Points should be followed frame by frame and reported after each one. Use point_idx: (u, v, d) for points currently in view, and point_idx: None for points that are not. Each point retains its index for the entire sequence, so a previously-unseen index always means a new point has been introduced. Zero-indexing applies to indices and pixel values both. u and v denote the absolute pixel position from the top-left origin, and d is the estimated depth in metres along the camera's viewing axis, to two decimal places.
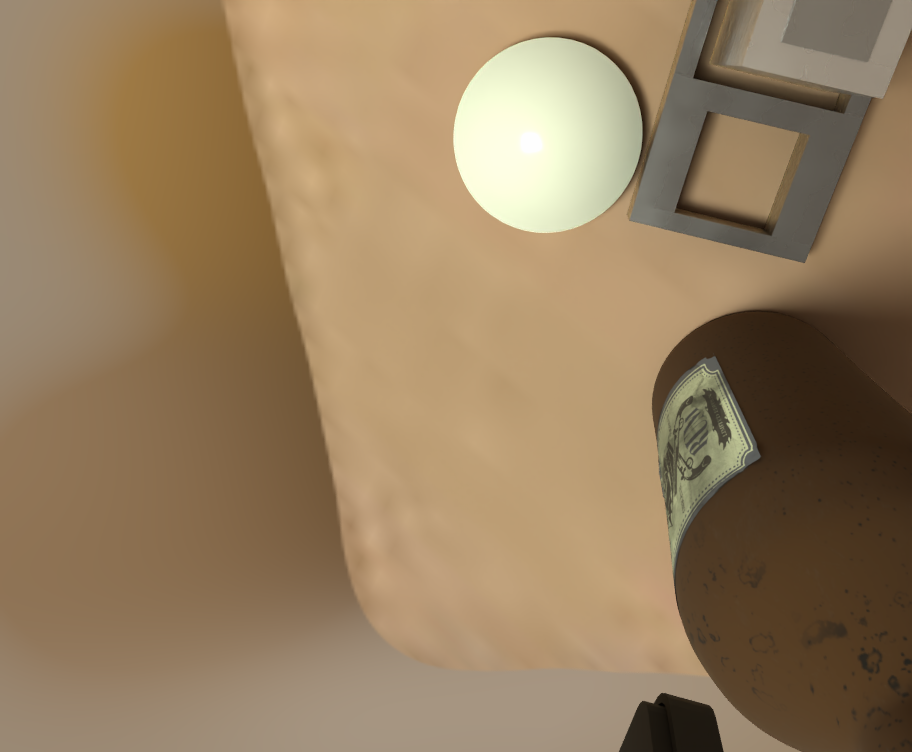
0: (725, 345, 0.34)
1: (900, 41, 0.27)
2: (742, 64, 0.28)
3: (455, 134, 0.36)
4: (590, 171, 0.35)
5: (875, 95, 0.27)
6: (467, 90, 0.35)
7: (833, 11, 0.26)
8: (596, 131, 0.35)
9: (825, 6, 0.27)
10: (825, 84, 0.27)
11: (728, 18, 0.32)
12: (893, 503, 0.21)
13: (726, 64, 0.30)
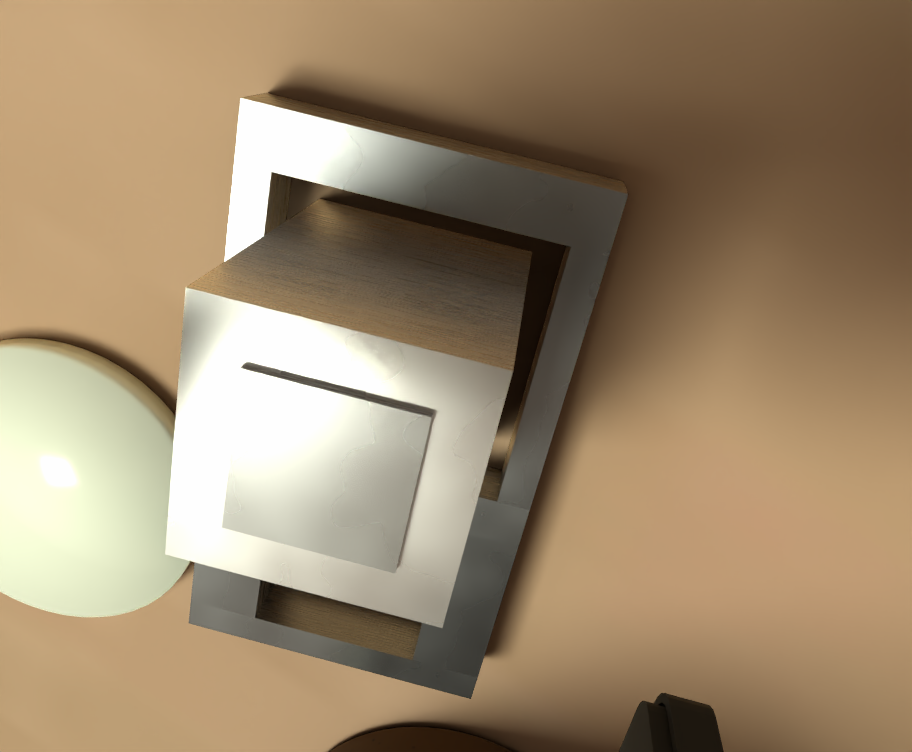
0: None
1: (453, 539, 0.13)
2: (166, 550, 0.14)
3: None
4: (126, 541, 0.22)
5: (425, 622, 0.14)
6: None
7: (306, 485, 0.13)
8: (121, 487, 0.21)
9: (293, 470, 0.13)
10: (328, 596, 0.14)
11: None
12: None
13: None
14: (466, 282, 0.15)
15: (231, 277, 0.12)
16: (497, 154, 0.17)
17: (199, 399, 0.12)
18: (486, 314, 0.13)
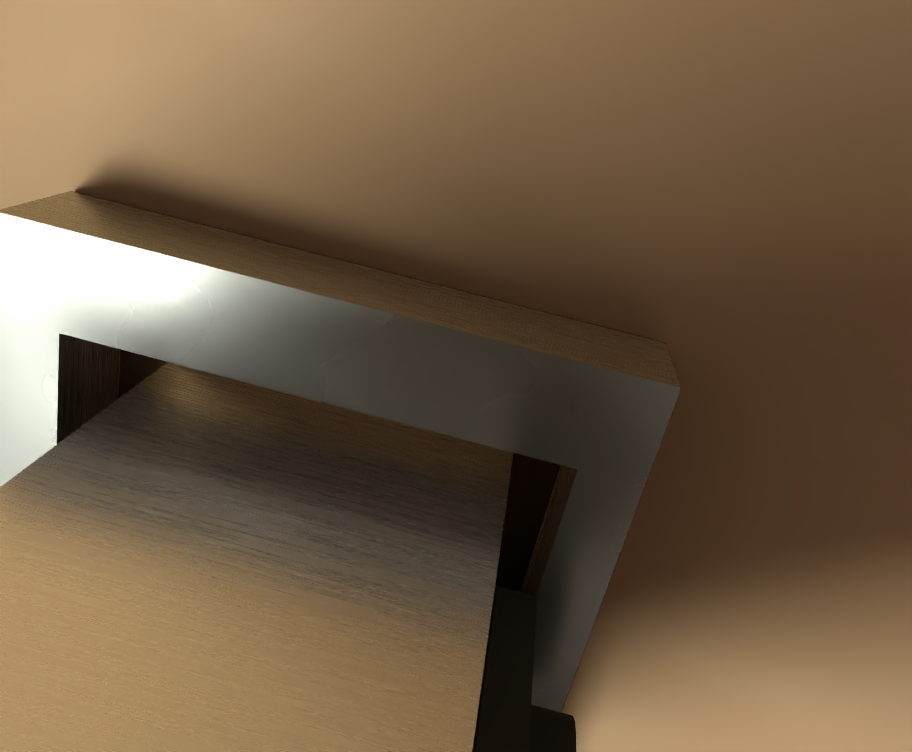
0: None
1: None
2: None
3: None
4: None
5: None
6: None
7: None
8: None
9: None
10: None
11: None
12: None
13: None
14: (381, 575, 0.08)
15: None
16: (451, 302, 0.10)
17: None
18: (404, 702, 0.06)
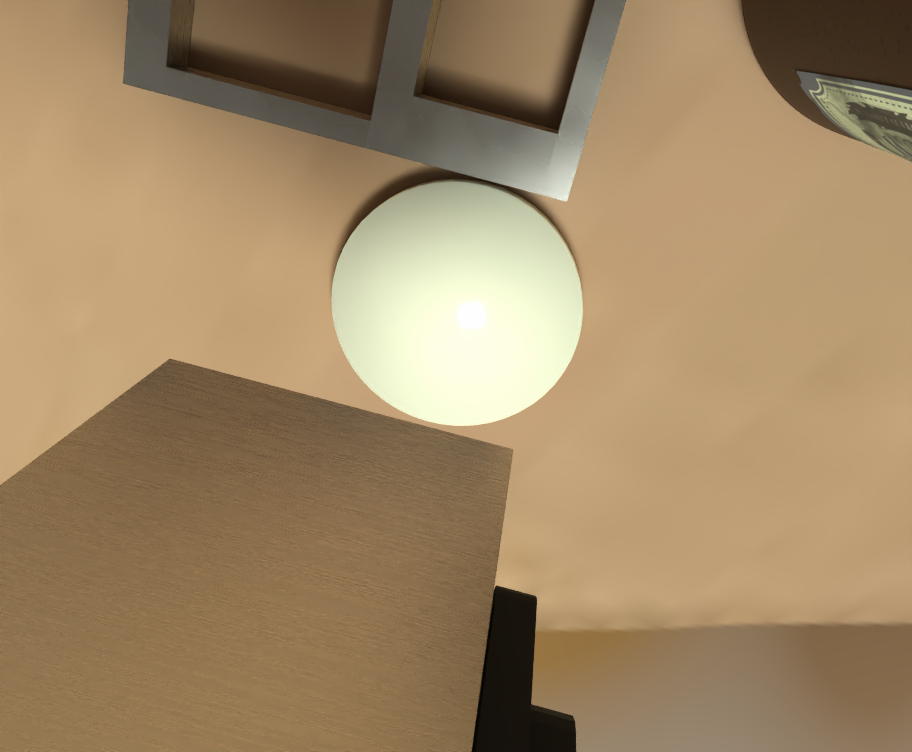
0: (780, 47, 0.19)
1: None
2: None
3: (447, 422, 0.28)
4: (498, 252, 0.25)
5: None
6: (394, 404, 0.28)
7: None
8: (445, 245, 0.25)
9: None
10: None
11: None
12: None
13: None
14: (380, 574, 0.08)
15: None
16: None
17: None
18: (404, 700, 0.06)
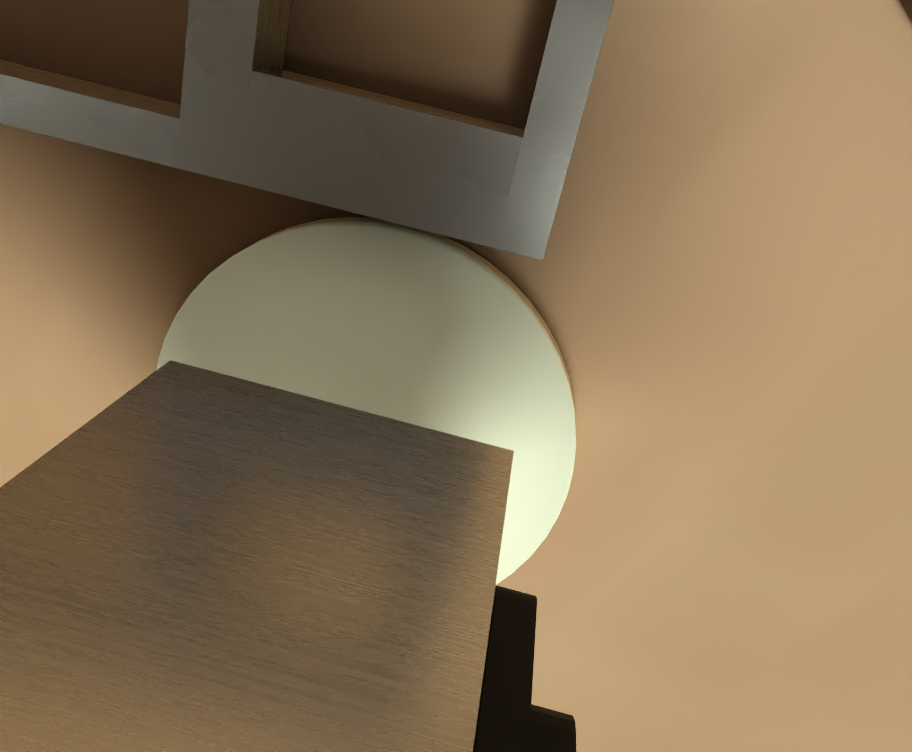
0: None
1: None
2: None
3: None
4: (428, 345, 0.14)
5: None
6: None
7: None
8: (335, 333, 0.15)
9: None
10: None
11: None
12: None
13: None
14: (381, 576, 0.08)
15: None
16: None
17: None
18: (404, 702, 0.06)
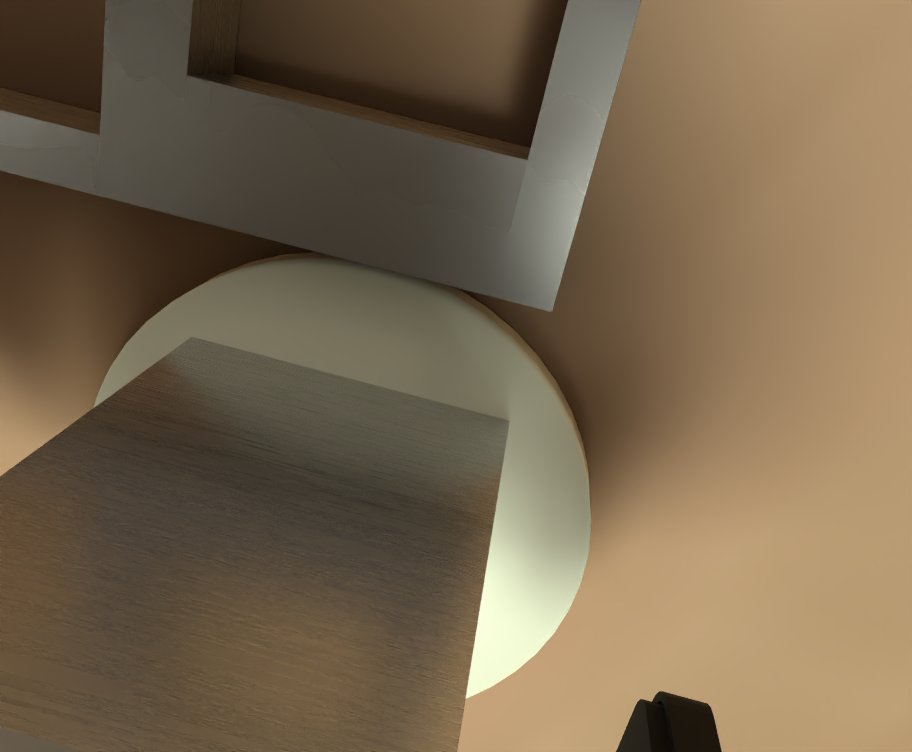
0: None
1: None
2: None
3: None
4: None
5: None
6: None
7: None
8: None
9: None
10: None
11: None
12: None
13: None
14: (390, 523, 0.09)
15: None
16: None
17: None
18: (411, 624, 0.07)
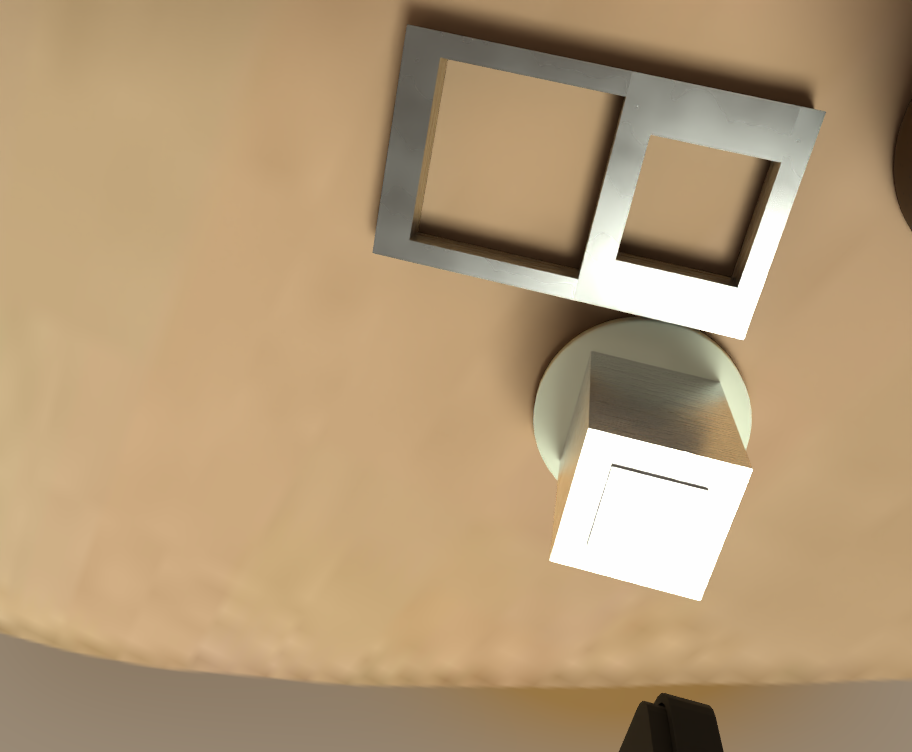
0: None
1: (711, 552, 0.25)
2: (550, 558, 0.26)
3: None
4: None
5: (691, 597, 0.25)
6: None
7: (637, 524, 0.25)
8: None
9: (629, 517, 0.25)
10: (638, 583, 0.26)
11: (569, 437, 0.30)
12: None
13: (554, 513, 0.29)
14: (700, 410, 0.27)
15: (600, 419, 0.25)
16: None
17: (585, 481, 0.25)
18: (722, 433, 0.25)
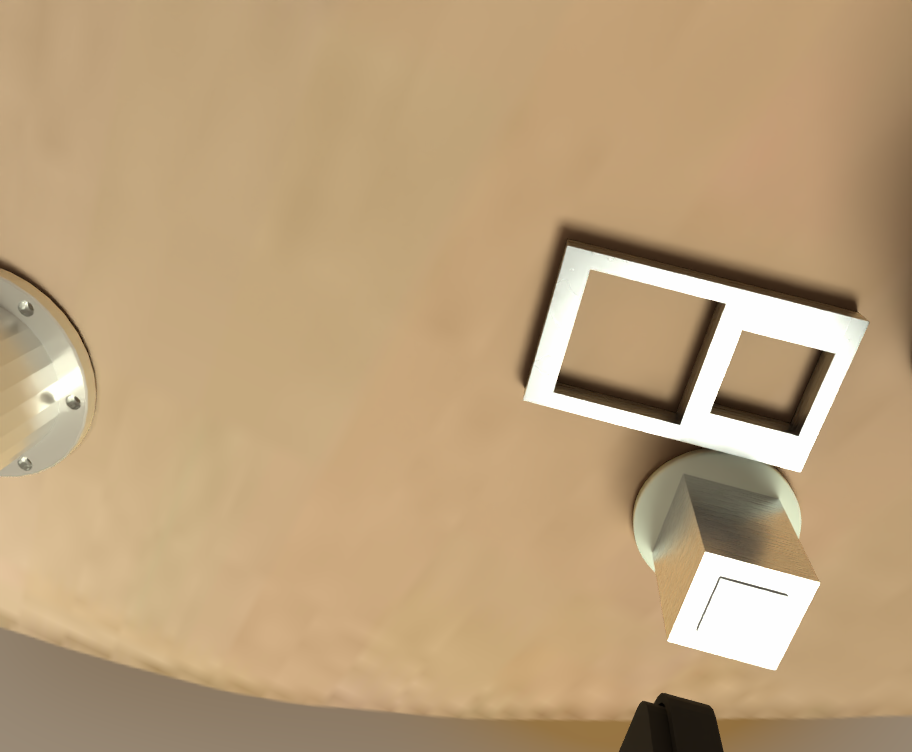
0: None
1: (786, 637, 0.35)
2: (667, 639, 0.36)
3: None
4: None
5: (769, 668, 0.35)
6: None
7: (735, 618, 0.35)
8: None
9: (729, 612, 0.35)
10: (731, 657, 0.35)
11: (665, 538, 0.40)
12: None
13: (660, 599, 0.38)
14: (773, 529, 0.37)
15: (710, 543, 0.34)
16: (551, 296, 0.38)
17: (699, 587, 0.34)
18: (793, 550, 0.35)
